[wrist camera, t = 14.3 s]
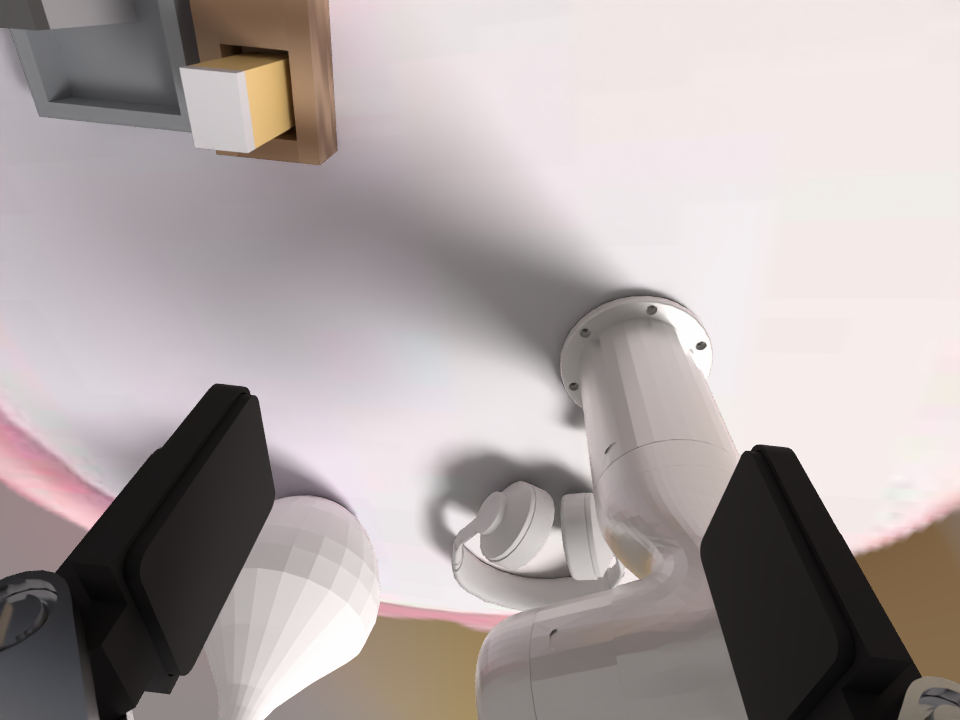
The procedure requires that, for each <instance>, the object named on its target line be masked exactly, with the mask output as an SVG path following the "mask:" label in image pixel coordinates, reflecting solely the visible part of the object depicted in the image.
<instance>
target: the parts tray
mask: <svg viewBox="0 0 960 720" xmlns="http://www.w3.org/2000/svg"><path fill="white" fill-rule="evenodd" d="M133 1H134V6H135V10H136V14H137V18H138V22H130V23H118V24H107V25H95V26H84V27H72V28H61V29H49V30H37V31H36V30H23V29H11V28H10V31H11V34H12V37H13V40H14V43H15V46H16V49H17V52H18V55H19V58H20V61H21V64H22V67H23V70H24V73H25V76H26V79H27V82H28V85H29V88H30V90H31V93H32V96H33V99H34V102H35V105H36V108H37V111H38V114H39V117H48V118H58V119H68V120H77V121H87V122H97V123H106V124H116V125H126V126H135V127H145V128H155V129H164V130H174V131H184V132H192V130H191V125H190V119H189V114H188V109H187V104H186V99H185V94H184V89H183V84H182V79H181V74H180V69H179V68H180V67H185V66H189V65H193V64H198V63H200V58H199V52H198V47H197V41H196V35H195V30H194V24H193V18H192V13H191V7H190V1H189V0H133Z"/></svg>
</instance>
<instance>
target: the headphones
mask: <svg viewBox="0 0 960 720" xmlns="http://www.w3.org/2000/svg"><path fill="white" fill-rule="evenodd" d="M554 513H555V507H554V500H553V499H552V497H551V496H550V494H549V493H548V492H546V491H544V490H542V489H540V488H538V487H536V486H533V485H531V484H529V483H526V482H524V481H518V482H514V483H513V484H511V485H510V486H508V487H507V488H505V489H504V490H503V491H502V492H501V493H500V492H498V491H496V492H493V493H491V494H490V495H489V496H488V497H487V498H486V499H485V501H484V502H483V503H482V505H481V507H480V509H479V511H478V514H477V516H476V518H475V519H474V520H473V521H472V522H471V523H470V524H468V525H467V526H466V527H465V528H463V529H462V530H461V531H460V532H459V533H458V534H457V536H456V537H455V540H454V543H453V551H452V569H453V574H454V578H455V579H456V581H457V582H458V583H459V585H460V586H461V587H462V588H463V589H464V590H466V591H467V592H468V593H470V594H472V595H475V596H476V597H478V598H480V599H481V600H483V601H485V602H489V603H493V604H497V605H499V606H502V607H507V608H511V609H516V610H521V611H526V610H529V609H532V608H536V607H540V606H544V605H549V604H553V603H557V602H561V601H565V600H569V599H573V598H577V597H581V596H585V595H589V594H593V593H597V592H601V591H605V590H609V589H614V588H616V587H617V586H618V584H619V583H620V582H621V580H622V578H623V576H624V572H625V566H624V565H623V564H622V563H621V562H620V561H619V559H618V558H617V557H616V556H615V555H614V554H613V552H612V551H611V549H610V548H609V546H608V545H607V543H606V541H605V540H604V538H603V535H602V533H601V530H600V528H599V524H598V520H597V515H596V507H595V500H594V495H593V493H592V492H591V493H573V494H566V495H564V496H563V497H562V500H561V505H560V519H561V531H562V540H563V547H564V552H565V557H566V562H567V565H568V569H569V571H570V574H571V576H572V577H561V578H553V579H543V578H528V577H521V576H516V575H513V574H509V573H506V572H503V571H500V570H497V569H495V568H493V567H491V566H489V565H487V564H485V563H483V562H481V561H480V560H479V559H477V558H476V557H475V556H474V555H472V554H471V553H470V552H469V551H468V550H467V549H466V548H465V547H464V546H463V544H464V543H466V542H467V541H468V540H469V539H471V538H472V537H473V536H474V535H476V534H477V533H480V548H481V551H482V554H483V555H484V556H485V557H486V559H488V560H489V561H490V562H492V563H494V564H497V565H499V566H501V567H504V568H506V569H518V568H520V567H522V566H525V565H526V564H527V563H529V562H530V561H531V560H532V559H533V558H534V557H535V556H536V555H537V553H538V552H539V551H540V550H541V548H542V547H543V545H544V543H545V541H546V540H547V538H548V536H549V534H550V531H551V528H552V524H553V521H554ZM614 556H615V557H616V561H617V562H616V564H615V565H614V566H613V567H612V568H609V569H608V566H609V564H610V562H611V560H612V558H613V557H614Z"/></svg>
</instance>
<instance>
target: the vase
mask: <svg viewBox="0 0 960 720" xmlns="http://www.w3.org/2000/svg"><path fill="white" fill-rule="evenodd" d="M379 604H380V581H379V571H378V561H377V557H376V554H375V551H374V548H373V546H372V544H371V541H370V539H369V537H368V534H367V532H366V530H365V529H364V527H363V526H362V525H361V523H360V522H359V521H358V520H357V519H356V518H355V517H354V516H353V515H352V514H351V513H350V512H349V511H348V510H347V509H345V508H344V507H343V506H341V505H339V504H337V503H335V502H334V501H331V500H328V499H325V498H322V497H317V496H310V495H304V496H291V497H285V498H281V499H277V500H274V504H273V507H272V510H271V512H270V514H269V516H268V518H267V520H266V522H265V524H264V526H263V528H262V530H261V532H260V534H259V536H258V538H257V540H256V542H255V544H254V546H253V548H252V550H251V552H250V554H249V556H248V558H247V560H246V562H245V564H244V566H243V568H242V570H241V572H240V574H239V576H238V578H237V580H236V582H235V584H234V586H233V588H232V590H231V592H230V594H229V596H228V598H227V600H226V602H225V604H224V606H223V608H222V610H221V612H220V614H219V616H218V618H217V620H216V622H215V624H214V626H213V628H212V630H211V632H210V634H209V636H208V638H207V640H206V642H205V644H204V646H203V647H204V649H205V652H206V654H207V658H208V661H209V664H210V667H211V670H212V674H213V677H214V681H215V684H216V687H217V690H218V696H219V716H218V720H264V719H265V718H266V717H267V716H268V715H269V714H270V712H271V711H272V710H273V709H274V708H276V707H278V706H279V705H280V704H282V703H283V702H285V701H286V700H287V699H289V698H291V697H292V696H293V695H295V694H296V693H298V692H299V691H301V690H302V689H304V688H305V687H307V686H308V685H310V684H311V683H313V682H315V681H316V680H317V679H320V678H321V677H323V676H325V675H327V674H328V673H330V672H332V671H333V670H335V669H337V668H339V667H341V666H342V665H344V664H346V663H347V662H349V661H350V660H351V659H353V658H354V657H355V656H357V655H358V654H359V653H360V651H361V649H362V647H363V645H364V644H365V642H366V640H367V638H368V636H369V634H370V632H371V630H372V628H373V626H374V624H375V622H376V618H377V613H378V609H379Z"/></svg>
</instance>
